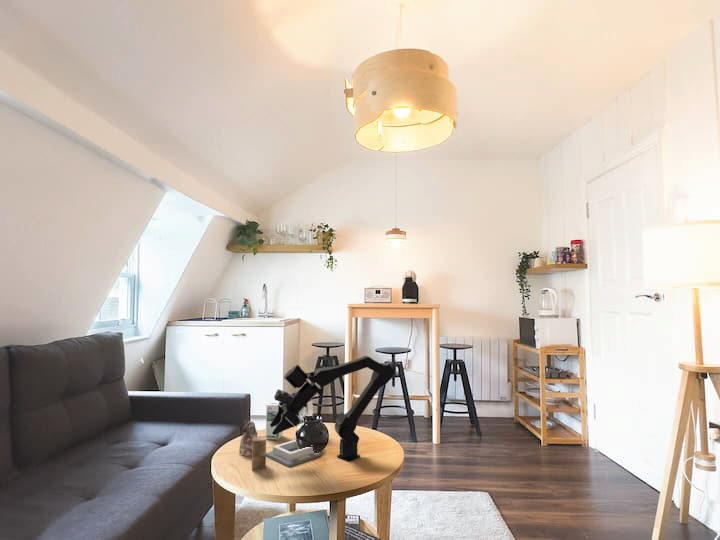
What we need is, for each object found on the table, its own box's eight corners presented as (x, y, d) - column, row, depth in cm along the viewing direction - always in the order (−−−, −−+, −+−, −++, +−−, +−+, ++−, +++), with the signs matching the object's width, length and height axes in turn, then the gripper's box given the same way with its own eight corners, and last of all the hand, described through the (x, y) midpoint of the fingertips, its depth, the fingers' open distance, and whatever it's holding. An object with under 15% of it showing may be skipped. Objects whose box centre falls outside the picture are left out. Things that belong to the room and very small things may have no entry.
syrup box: (265, 439, 173) (266, 404, 174) (270, 434, 178) (271, 401, 180) (278, 440, 172) (278, 405, 173) (282, 435, 178) (283, 401, 179)
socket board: (320, 455, 154) (321, 446, 155) (288, 467, 144) (288, 457, 144) (296, 446, 165) (297, 437, 165) (265, 456, 154) (265, 446, 154)
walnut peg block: (264, 464, 146) (265, 435, 147) (265, 469, 142) (266, 439, 143) (251, 465, 145) (252, 436, 146) (252, 470, 141) (252, 441, 141)
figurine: (247, 457, 152) (248, 424, 153) (235, 453, 156) (236, 421, 157) (262, 451, 158) (262, 420, 159) (249, 448, 162) (250, 417, 163)
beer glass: (315, 433, 180) (315, 399, 181) (308, 438, 174) (308, 402, 175) (301, 432, 182) (301, 398, 184) (293, 436, 176) (294, 401, 177)
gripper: (284, 377, 157) (254, 408, 153) (291, 386, 140) (257, 422, 136) (304, 396, 159) (275, 428, 155) (313, 408, 141) (280, 444, 137)
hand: (271, 430), depth 146 cm, fingers open, 9 cm apart
